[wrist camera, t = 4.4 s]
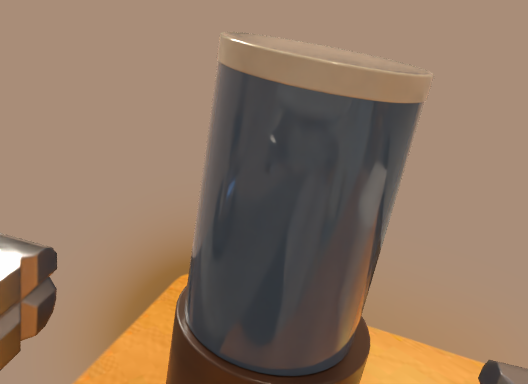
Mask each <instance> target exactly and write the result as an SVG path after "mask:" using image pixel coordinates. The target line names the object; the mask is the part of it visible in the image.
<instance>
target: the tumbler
mask: <svg viewBox="0 0 528 384" xmlns="http://www.w3.org/2000/svg"><path fill="white" fill-rule="evenodd" d="M217 59H218V66H217V72H216V80H215V87H214V94H213V102H212V110H211V116H210V123H209V131H208V139H207V145H206V152H205V160H204V167H203V175H202V182H201V190H200V196H199V203H198V211H197V218H196V225H195V232H194V240H193V248H192V255H191V262H190V269H189V276H188V283H187V291H186V298H185V305H184V312H185V317H186V321H187V323H188V326H189V328H190V330H191V331H192V333H193V334H194V336H195V337H196V338H197V339H198V340H199V341H200V342H201V344H203V345H204V346H205V347H206V348H207V349H208V350H210V351H211V352H212V353H214V354H215V355H217V356H218V357H220V358H222V359H224V360H226V361H227V362H229V363H232V364H234V365H236V366H239V367H241V368H244V369H247V370H250V371H254V372H258V373H263V374H268V375H276V376H303V375H309V374H314V373H318V372H321V371H324V370H327V369H329V368H331V367H333V366H335V365H336V364H337V363H339V362H340V361H342V360H343V359H344V357H345V356H346V355H347V354H348V353H349V351H350V349H351V348H352V345H353V342H354V338H355V335H356V331H357V328H358V325H359V321H360V318H361V315H362V311H363V307H364V304H365V301H366V297H367V294H368V291H369V287H370V284H371V281H372V277H373V274H374V271H375V267H376V264H377V260H378V257H379V254H380V250H381V247H382V244H383V240H384V236H385V233H386V230H387V227H388V223H389V220H390V216H391V213H392V210H393V206H394V203H395V200H396V196H397V193H398V190H399V186H400V183H401V179H402V176H403V173H404V169H405V166H406V162H407V159H408V156H409V152H410V149H411V145H412V142H413V139H414V135H415V132H416V129H417V125H418V122H419V118H420V115H421V112H422V108H423V105H424V102H425V101H426V100H427V98H428V94H429V91H430V87H431V84H432V81H433V77H434V75H433V74H432V73H431V72H429V71H427V70H424V69H422V68H418V67H415V66H412V65H408V64H404V63H401V62H397V61H392V60H388V59H385V58H380V57H376V56H372V55H367V54H362V53H358V52H353V51H348V50H343V49H338V48H333V47H328V46H323V45H318V44H312V43H307V42H301V41H295V40H289V39H283V38H277V37H269V36H263V35H256V34H248V33H237V32H224V33H221V34H220V39H219V46H218V53H217Z"/></svg>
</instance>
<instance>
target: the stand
mask: <svg viewBox="0 0 528 384" xmlns="http://www.w3.org/2000/svg"><path fill="white" fill-rule="evenodd" d="M186 291H187V286H186V287H185V288H184V290H183V291H182V293H181V294H180V296H179V298H178V301H177V305H176V311H175V319H174V326H173V334H172V342H171V349H170V357H169V365H168V372H167V380H166V384H359V383H360V380H361V377H362V374H363V370H364V367H365V364H366V361H367V358H368V354H369V350H370V336H369V331H368V328H367V325H366V323H365V321H364V319H363V317H362V316H361V318H360V321H359V325H358V328H357V331H356V335H355V338H354V342H353V345H352V348H351V349H350V351H349V353H348V354H347V355H346V356H345V357H344V359H343V360H342V361H340V362H339V363H337V364H336V365H335V366H333V367H331V368H329V369H327V370H324V371H321V372H318V373H314V374H309V375H303V376H276V375H268V374H263V373H258V372H254V371H250V370H247V369H244V368H241V367H239V366H236V365H234V364H232V363H229V362H227V361H226V360H224V359H222V358H220V357H218V356H217V355H215V354H214V353H212V352H211V351H210V350H208V349H207V348H206V347H205V346H204V345H203V344H201V342H200V341H199V340H198V339H197V338H196V337H195V336H194V334H193V333H192V331H191V330H190V328H189V326H188V323H187V321H186V317H185V312H184V305H185V298H186Z"/></svg>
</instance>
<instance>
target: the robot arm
mask: <svg viewBox="0 0 528 384" xmlns="http://www.w3.org/2000/svg"><path fill="white" fill-rule="evenodd" d="M56 269H57V253H56V252H55V251H54V250H53V248H52V247H49V246H44V245H41V244H38V243H34V242H31V241H27V240H23V239H20V238H16V237H12V236H9V235H4V234H2V233H0V370H1V369H2V368H3V367H4V366H5V365H7V363H9V361H11V360H12V359H13V358H14V357H15V356H16V355H17V354H18V353H19V352H20V341H22V340H25V339H28V338H30V337H33V336H36V335H37V334H38V333H39V332H40V331H41V330H42V329H43V328H44V327H45V325H46V324H47V322H48V320H49V318H50V316H51V314H52V313H53V310H54V305H55V301H56V287H55V286H54V284H53V282H52V280H51V279H50V277H49V276H50V275H51V274H52V273H53V272H54V271H55V270H56ZM478 379H479V382H480V384H528V369H526V368H522V367H518V366H514V365H509V364H505V363H500V362H496V361H492V360H489V361H488V362H487V363H486V364H485V365H484V366H483V368H482V370H481V373H480V375H479V377H478Z"/></svg>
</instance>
